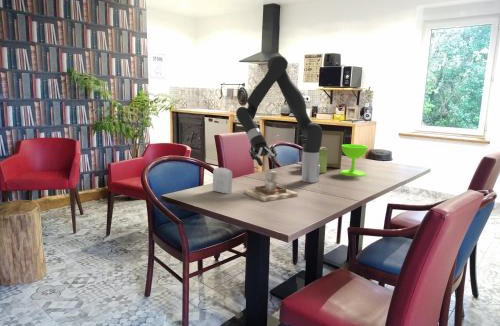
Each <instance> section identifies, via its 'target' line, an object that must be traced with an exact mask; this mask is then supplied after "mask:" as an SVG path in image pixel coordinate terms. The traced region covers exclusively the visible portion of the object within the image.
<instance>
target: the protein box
mask: <svg viewBox="0 0 500 326" xmlns="http://www.w3.org/2000/svg"><path fill="white" fill-rule="evenodd" d="M303 147H304V146H302V147H301V148H302V150H301V151H302V152H301V162H302V161H303ZM327 155H328V149H327V148H325V147H320V150H319V165H320V171H319V174H322V173H323V174H326V173H327V168H328V167H327ZM300 165H301V168H300V169H301V171H302V163H301V164H300Z"/></svg>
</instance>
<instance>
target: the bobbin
mask: <svg viewBox="0 0 500 326" xmlns="http://www.w3.org/2000/svg"><path fill="white" fill-rule="evenodd" d="M264 172H265V174H264V176H265V178H264V185H265V188H264V189H265V190H267V191H272V190H274V191H275V193H276V192H279V190H278V189H276V185H277V177H278V175H277V174H278V172H277V171H276V170H275V171H274V170H265V171H264Z"/></svg>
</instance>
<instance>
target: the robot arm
mask: <svg viewBox="0 0 500 326" xmlns="http://www.w3.org/2000/svg"><path fill="white" fill-rule="evenodd" d="M287 68H288V60H287V59H286V57H285V56H283V55H275V56H274V55H273V56H271V57H270V58H268V61H267V69H268V71H267V72H266V74H265V75H264V77H263V78H262V79H261V80H260V82H259V83H258V84H257V85H256V86H255V87H254V89H253V90H252V91H251V93H250V94H249V96H248V97H247V99H246V103H247V104H248V105H247V107H246V106H239V107H238V108H237V109H236V112H235V116H236V118H237V120H238V122H239V124H240V125H241V126H242V127H243V129H244V132H245V134H246V136H247V139H248V141H249V143H250V146H251V147H250V148H249V150H248V153H249V155H250V159H251V160H253V161H256V162H257V164H258V166H259V167H263V165H264V163H263V160H262V159H261V157H265V156H266V157H267V158H270V159H271V162H272V164H273V165H274V166H276V165H277V164H278V160H277V156H278V153H277V151H276V150H275V147H274V146H273V145H270V146H268V145H267V140H266V139H265V137H264V135H263V133H262V132H261V130H260V128H259V126H258V124H257V122H256V121H255V120H254V118H255V117H256V114H257V111H258V109H259V106H260V105H261V104H262V102H263V100H264V98H265V97H266V95H267V94H268V92H269V91H270V89H271V88H272V86H274V84H275V83H277V86H278V88H279V89H280V92H281V94H282V96H283V98H284V100H285V102H286V104H287V106H288V108H289V109H290V111H291V113H292V115H293V117H294V118H295V120H296V122H297V124H298V127H299V129H300V132H301V134H302V137H304V138H305V139H306V144H305V145H304V146H302V147H303V161H302V160H301V164H302V170H301V181H302V182H303V183H310V184H311V183H312V184H313V183H318V182H320V173H319V171H320V165H319V150H320V147H321V142H322V131H323V129H322V126H320V125H319V124H318V123H313V122H312V120H311V119H310V117H309V115H308V111H307V105H306V101H305V98H304V96H303V94H302V92H301V90H300V89H299V88H298V86H297V85H296V83H295V82H294V81H293V79H292V78H290V75H289V74H288V72H287Z"/></svg>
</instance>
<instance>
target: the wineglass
mask: <svg viewBox="0 0 500 326" xmlns="http://www.w3.org/2000/svg"><path fill="white" fill-rule="evenodd" d="M368 147H369V146H367V145H362V144H354V143H352V144H350V143H348V144H346V143H345V144H343V145H342V154H344V155H345V156H346V157H347V158H349V159H351V168H350V169H343V170H341V171H340V172H339V174H340V175H343V176H346V177H357V178H358V177H364V176H365V177H366V173H365V172H364V171H361V170H357V169H355V166H356V165H355V164H356V159H359V158H362V157H363V156H365V155H366V153H367V151H368Z"/></svg>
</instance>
